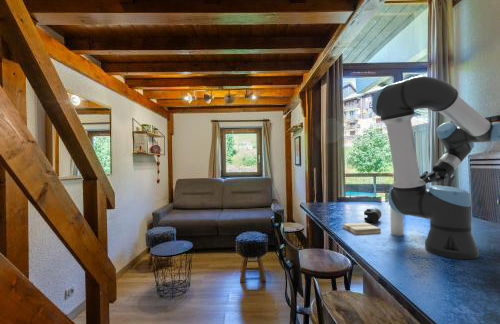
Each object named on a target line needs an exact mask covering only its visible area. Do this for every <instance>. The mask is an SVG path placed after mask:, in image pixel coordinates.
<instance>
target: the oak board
mask: <svg viewBox="0 0 500 324" xmlns="http://www.w3.org/2000/svg"><path fill="white" fill-rule="evenodd" d="M342 228H343V229H345V230H347V231H348V232H350V233H353V234H354V235H367V234H380V233H382V231H381V230H382V229H381V227H377V226H375V225H374V224H369V223H366V222H365V221H362V222H350V223H349V222H348V223H345V222H344V223H342Z"/></svg>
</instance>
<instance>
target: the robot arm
mask: <svg viewBox="0 0 500 324" xmlns="http://www.w3.org/2000/svg"><path fill="white" fill-rule="evenodd" d="M371 108H372V111H373V113H374V114H375V115H376V116H377V117H380V121H381V122H382V123H384V124H385V125H386V130H387V137H388V145H389V149H390V156H391V161H392V166H393V173H394V174H393V175H394V179H395V180H394V182H393V183H392V186H391V187H390V188H389V190H388V194H387V202H388V204H389V207H391V208H392V209H393V210H394V211H396V212H397V213H401V214H403V216H412V217H417V218H423V219H428V220H429V231H428V233H427V237H426V239H425V241H424V249H425V250H426V251H428V252H430V253H432V254H434V255H438V256H441V257H444V258H451V259H456V260H475V259H478V258H479V257H480V253H479V252H480V251H479V250H480V249H479V248H478V246H477V245H476V242H475V239H474V236H473V233H472V205H473V204H472V201H471V193H469V191H467V190H465V189H462V188H459V187H455V186H453V185H452V184H453V181H454V179H455V175H454V172H455V171H456V169H458V167H459V166H460V165H461V163H462V162H463V161H464V160H465V159H466V158H467V156H468V155H470V153H471V152H472V150H473V149H474V147H475V144H474V143H492V142H498V141H499V142H500V121H493V122H490V121H489V120H488V119H487V118H486V117H484V116H483V115H482V114H480V112H478V111H477V110H476V109H474V108H473V107H472V106H471V105H470V104H468V103H467V102H466V101H465V100H464V99H463V98H461V97H460V96H459V91H458V90H457V88H456V87H454V86H453V85H452V84H450V83H448V82H447V81H444V80H441V79H438V78H435V77H433V76H432V77H431V76H425V75H424V76H423V75H420V76H414V77H410V78H409V79H408V78H407V79H404V80H401V81H397V82H394V83H391V84H387V85H385V86H383V87H381V88H379V89H377V90H376V92H375V93H374V94H373V96H372V99H371ZM420 109H422V110H423V109H429V110H430V111H431V112H434V113H439V114H441V115H442V116H444V117H445V118H447V119H448V120H449V121H448V122H443V123H441V124H440V125H438V127H437V128H435V129H436V130H435V133H436V135H437V136H438V137H437V138H438V139H439V141H440V142H441V144H442V145H443V146H444V148H445V152H444V153H443V154H442V156H441V157H440V158H439V159H438V160H437V161H436V163H435V164H434V165H433V166H432V171H431V172H429V171H426V170H425V171H424V172H423V173H422V174H421V175H420V170H419V164H418V157H417V155H418V154H417V150H416V144H415V136H414V132H413V131H414V130H413V125H412V119H413V117H414V116H415V110H416V111H417V110H420ZM450 121H451V122H450ZM428 183H438V185H437V184H436V185H435V184H434V185H430V186H429V187H428V188H427V184H428Z"/></svg>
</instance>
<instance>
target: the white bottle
mask: <svg viewBox="0 0 500 324" xmlns="http://www.w3.org/2000/svg"><path fill="white" fill-rule="evenodd" d="M389 209H390V213H389V215H390V217H389V218H390V234H391V235H392V236H393V235H394V236H399V237H400V236H404V235H405V232H404V229H405V228H404V227H405V226H404V214H401V213H397V212H396V211H394V210H393V209H392V208H391V206H389Z"/></svg>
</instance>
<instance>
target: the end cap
mask: <svg viewBox="0 0 500 324" xmlns="http://www.w3.org/2000/svg"><path fill="white" fill-rule="evenodd" d="M363 215H364V216H367V217H363V220H364V221H363V222H366V223H368V224H371V225H375V224H377V223H378V222H379V220H380V219H381V217H382V211H381V210H380V209H378V208H372V209H371V208H366V209H365V210H364V212H363Z"/></svg>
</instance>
